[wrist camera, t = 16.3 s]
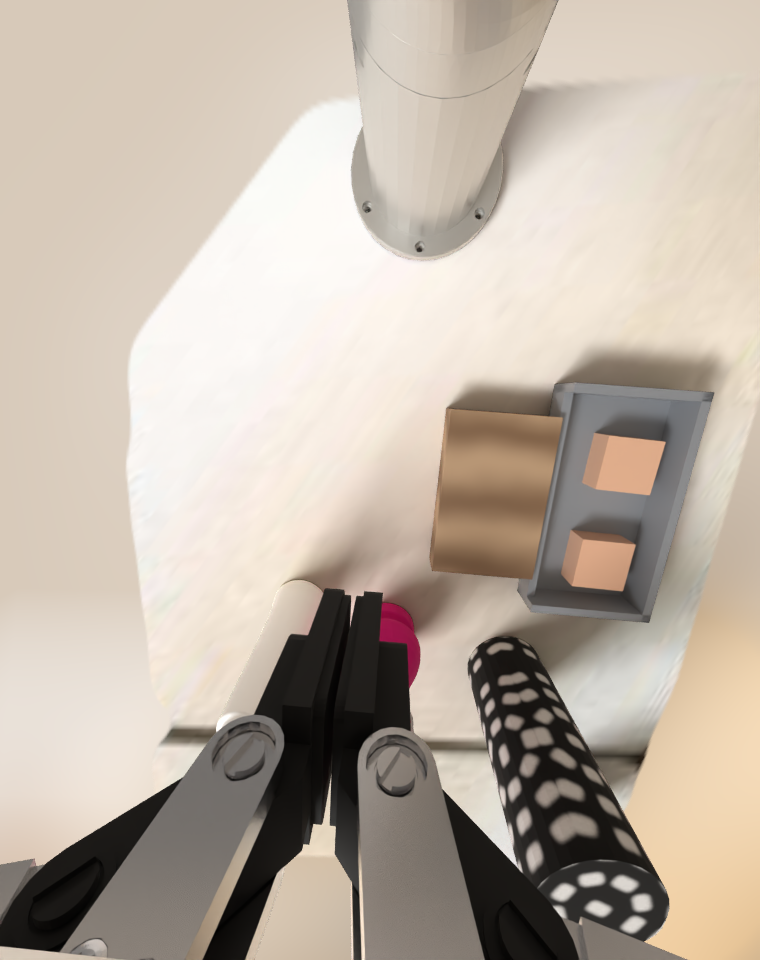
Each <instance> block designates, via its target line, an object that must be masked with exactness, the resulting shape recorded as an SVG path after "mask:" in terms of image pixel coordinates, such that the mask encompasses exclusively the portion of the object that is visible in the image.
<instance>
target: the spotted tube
mask: <svg viewBox="0 0 760 960" xmlns="http://www.w3.org/2000/svg"><path fill="white" fill-rule="evenodd" d="M468 675H469V679H470V683H471V687H472V691H473V694H474V698H475V702H476V706H477V710H478V714H479V718H480V722H481V726H482V729H483V733H484V737H485V741H486V745H487V749H488V753H489V757H490V760H491V764H492V768H493V772H494V776H495V780H496V784H497V788H498V792H499V795H500V799H501V803H502V807H503V811H504V815H505V819H506V823H507V826H508V830H509V834H510V838H511V842H512V846H513V850H514V854H515V857H516V861H517V865H518V869H519V870H520V871H521V872H522V873H523V874H524V875H525V876H526V877H527V878H528V879H529V880H530V882H531V883H532V884H533V885H534V886H535V887H536V888H537V889H538V890H539V891H540V892H541V893H542V894H543V895H544V896H545V897H546V898H547V899H548V901H549V902H550V903H551V905H552V906H553V907H554V908H555V910H556V911H557V912H558V914H559V915H560V916H561V917H563V918H566V919H568V920H570V921H573V922H575V923H578V924H579V921H580V918H581V917H583V918H586V919H588V920H591V921H593V922H596V923H598V924H601V925H603V926H606V927H608V928H610V929H613V930H615V931H618V932H620V933H623V934H625V935H628V936H630V937H633V938H635V939H638V940H640V941H642V942H644V941H646V940H647V939H649V938H650V937H651V936H653V935H654V934H655V933H656V932H657V931H658V930H659V929H660V928H661V927H662V925H663V923H664V922H665V920H666V918H667V915H668V912H669V898H668V894H667V891H666V889H665V887H664V885H663V884H662V882H661V880H660V878H659V876H658V874H657V873H656V871H655V869H654V867H653V865H652V863H651V861H650V860H649V858H648V856H647V854H646V852H645V851H644V849H643V847H642V845H641V843H640V841H639V840H638V838H637V836H636V834H635V832H634V830H633V829H632V827H631V825H630V823H629V821H628V819H627V818H626V816H625V814H624V812H623V810H622V808H621V806H620V805H619V803H618V801H617V799H616V797H615V795H614V794H613V792H612V790H611V788H610V786H609V785H608V783H607V781H606V779H605V777H604V775H603V774H602V772H601V770H600V768H599V766H598V764H597V763H596V761H595V759H594V757H593V755H592V753H591V752H590V750H589V748H588V746H587V744H586V742H585V741H584V739H583V737H582V735H581V733H580V731H579V730H578V728H577V726H576V724H575V722H574V720H573V719H572V717H571V715H570V713H569V711H568V709H567V708H566V706H565V704H564V702H563V700H562V698H561V697H560V695H559V693H558V691H557V689H556V687H555V686H554V684H553V682H552V680H551V678H550V676H549V675H548V673H547V671H546V669H545V667H544V665H543V664H542V662H541V660H540V658H539V656H538V654H537V653H536V651H535V650H534V649H533V648H532V647H531V646H530V645H529V644H528V643H526V642H525V641H523V640H520V639H518V638H513V637H496V638H493V639H490V640H487V641H485V642H484V643H482V644H481V645H479V646H478V647H477V648H476V649H475V650H474V651H473V653H472V654H471V656H470V658H469V662H468Z"/></svg>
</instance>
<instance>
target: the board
mask: <svg viewBox="0 0 760 960" xmlns="http://www.w3.org/2000/svg"><path fill="white" fill-rule="evenodd" d="M562 421H563V418H562V417H554V416H544V415H530V414H517V413H504V412H490V411H477V410H463V409H450V408H446V416H445V425H444V434H443V443H442V451H441V460H440V469H439V478H438V487H437V495H436V504H435V513H434V522H433V531H432V539H431V548H430V557H429V558H430V563H431V568H432V571H440V572H451V573H462V574H474V575H485V576H497V577H508V578H519V579H531V580H532V579H533V573H534V568H535V563H536V557H537V552H538V547H539V542H540V536H541V531H542V526H543V521H544V515H545V510H546V505H547V500H548V494H549V489H550V484H551V479H552V473H553V468H554V463H555V458H556V452H557V447H558V442H559V436H560V431H561V426H562Z"/></svg>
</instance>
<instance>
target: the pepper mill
mask: <svg viewBox="0 0 760 960" xmlns="http://www.w3.org/2000/svg"><path fill="white" fill-rule="evenodd" d="M379 641H386V642H398V643H407V649H408V673H409V688H410V686H411V685H412V683H413V681H414V679H415V677H416V675H417V672H418V669H419V665H420V646H419V642H418V639H417V638H416V636H415V634H414V625H413V621H412V618H411V616H410V615H409V614H408V612H407V611H406V610H404V609H403V608H402V607H400V606H398V605H395V604H391V603H382V611H381V626H380V640H379ZM410 722H411V732H413V733H414V730H413V717H412V715H411V712H410Z"/></svg>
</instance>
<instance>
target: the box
mask: <svg viewBox="0 0 760 960" xmlns="http://www.w3.org/2000/svg"><path fill="white" fill-rule="evenodd" d="M713 395H714V392H700V391H686V390H672V389H658V388H644V387H630V386H616V385H603V384H589V383H563V384H555V386H554V391H553V397H552V402H551V408H550V413H549V416H554V417H562V418H563V421H562V426H561V431H560V436H559V442H558V447H557V452H556V458H555V463H554V468H553V473H552V479H551V484H550V489H549V494H548V500H547V505H546V510H545V515H544V521H543V526H542V531H541V536H540V542H539V547H538V552H537V557H536V563H535V568H534V573H533V579H532V580H531V579H519V585H518V590H517V591H518V592H519V594H520V595H521V597H522V599H523V600H524V602H525V604H526V605H527V607H528V608H529V610H530V612H535V613H546V614H557V615H569V616H580V617H591V618H602V619H613V620H624V621H635V622H646V623H649V621H650V617H651V614H652V610H653V607H654V603H655V600H656V596H657V593H658V589H659V586H660V582H661V579H662V575H663V571H664V568H665V564H666V561H667V557H668V554H669V550H670V547H671V543H672V540H673V536H674V533H675V529H676V526H677V522H678V519H679V515H680V512H681V508H682V504H683V501H684V497H685V494H686V490H687V487H688V483H689V480H690V476H691V473H692V469H693V466H694V462H695V459H696V455H697V452H698V448H699V445H700V441H701V438H702V434H703V430H704V427H705V423H706V420H707V416H708V413H709V409H710V406H711V402H712V399H713ZM594 433H601V434H610V435H619V436H628V437H637V438H646V439H652V440H658V441H664V442H666V443H665V446H664V450H663V453H662V456H661V460H660V463H659V467H658V470H657V473H656V477H655V480H654V483H653V487H652V490H651V493H650V495H642V494H633V493H625V492H616V491H607V490H598V489H594V488H592V487H590V486H588V485H586V484H583V483H582V480H583V476H584V472H585V468H586V464H587V460H588V456H589V452H590V448H591V444H592V440H593V436H594ZM571 530H577V531H587V532H597V533H607V534H617V535H621V536H623V537H624V538H626V539H627V540H629V541H631V542H632V543H634V544H636V546H635V549H634V553H633V556H632V560H631V564H630V567H629V571H628V575H627V578H626V582H625V585H624V589H623V591H615V590H605V589H595V588H585V587H576V586H571V585H570V583H569V582H568V581H567V580H566V579H565V578H564V577H563V576H562V575H561V570H562V566H563V561H564V557H565V553H566V548H567V544H568V540H569V535H570V531H571Z"/></svg>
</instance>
